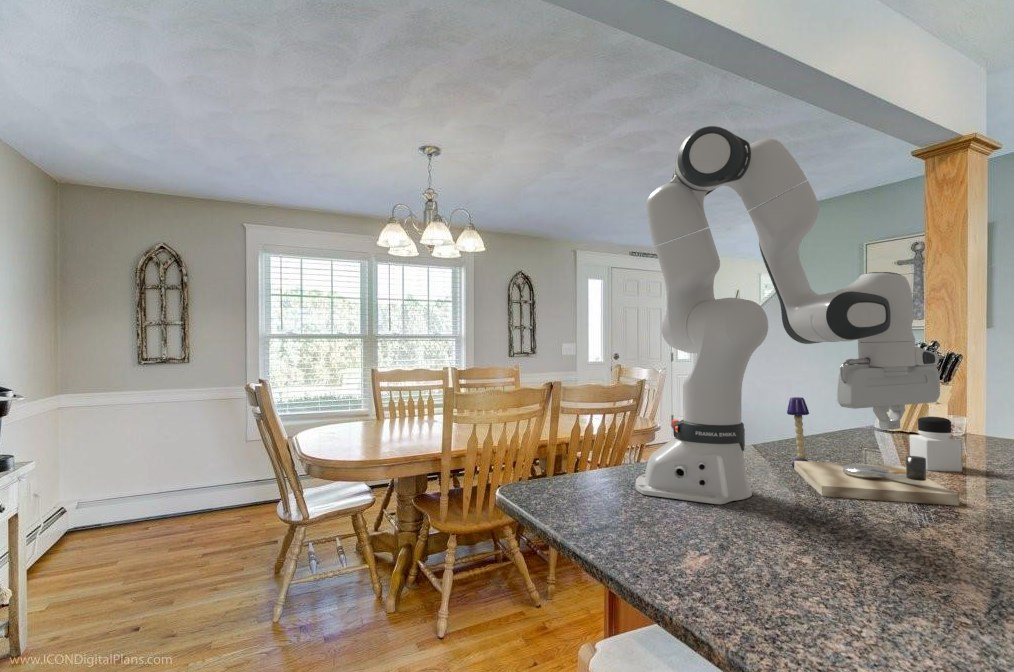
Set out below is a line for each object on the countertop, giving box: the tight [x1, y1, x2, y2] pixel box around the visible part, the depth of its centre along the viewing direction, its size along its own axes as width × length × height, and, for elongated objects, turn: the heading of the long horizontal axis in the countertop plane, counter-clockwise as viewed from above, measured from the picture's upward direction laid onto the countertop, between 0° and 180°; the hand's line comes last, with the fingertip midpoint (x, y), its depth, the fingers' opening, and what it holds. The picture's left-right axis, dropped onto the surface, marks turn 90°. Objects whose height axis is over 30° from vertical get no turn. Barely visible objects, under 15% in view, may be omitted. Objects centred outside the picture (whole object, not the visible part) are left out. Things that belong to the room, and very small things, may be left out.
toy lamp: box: [786, 396, 810, 468], centre depth 122 cm, size 5×5×17 cm
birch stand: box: [793, 460, 960, 507], centre depth 106 cm, size 22×22×2 cm
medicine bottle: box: [909, 415, 963, 473], centre depth 120 cm, size 7×7×12 cm
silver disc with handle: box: [843, 455, 927, 484], centre depth 103 cm, size 14×8×5 cm, turn 28°
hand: (889, 428), depth 96 cm, fingers closed
